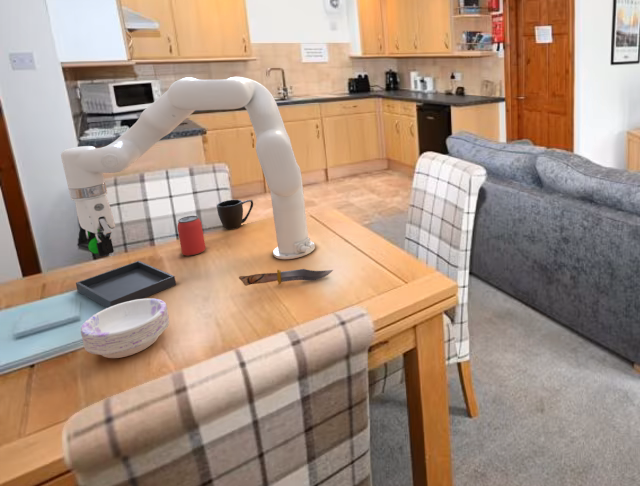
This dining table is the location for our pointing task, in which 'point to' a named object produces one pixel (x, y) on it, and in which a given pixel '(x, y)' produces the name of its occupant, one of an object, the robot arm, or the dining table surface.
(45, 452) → the dining table surface
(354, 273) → the dining table surface
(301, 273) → the knife
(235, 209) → the mug
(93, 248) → the lime
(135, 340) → the paper bowls
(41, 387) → the dining table surface
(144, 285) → the tray
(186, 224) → the beer can
